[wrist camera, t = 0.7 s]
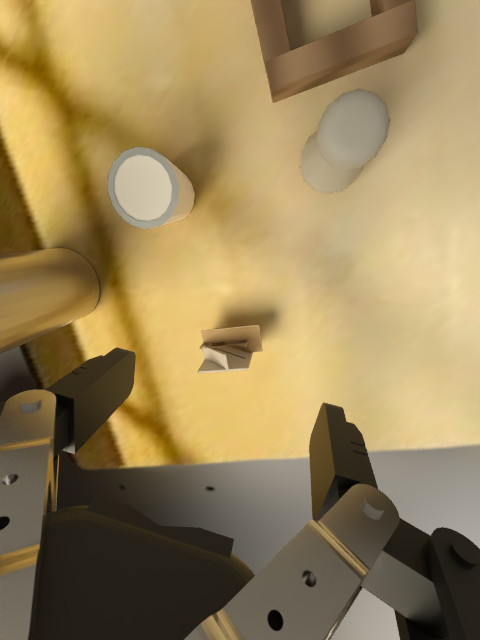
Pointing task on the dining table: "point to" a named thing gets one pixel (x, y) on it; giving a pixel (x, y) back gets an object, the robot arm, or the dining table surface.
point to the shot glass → (149, 189)
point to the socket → (331, 45)
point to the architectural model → (229, 348)
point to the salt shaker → (344, 141)
